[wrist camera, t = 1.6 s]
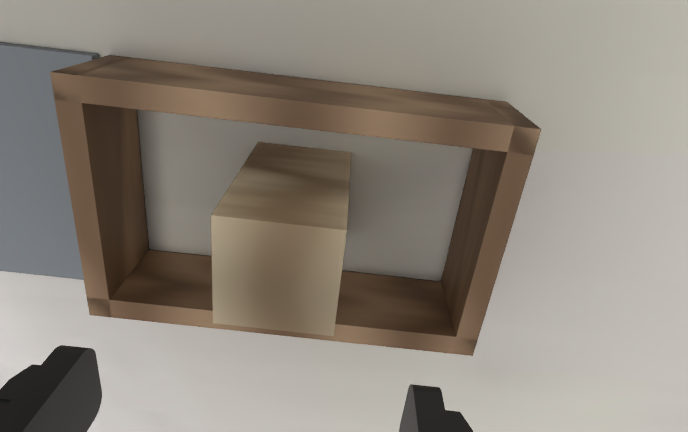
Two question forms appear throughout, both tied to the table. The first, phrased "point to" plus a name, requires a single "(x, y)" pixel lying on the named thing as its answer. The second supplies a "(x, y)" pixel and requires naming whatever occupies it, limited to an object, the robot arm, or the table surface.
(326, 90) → the walnut surround
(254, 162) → the oak block
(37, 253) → the slate mat
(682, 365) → the table surface
